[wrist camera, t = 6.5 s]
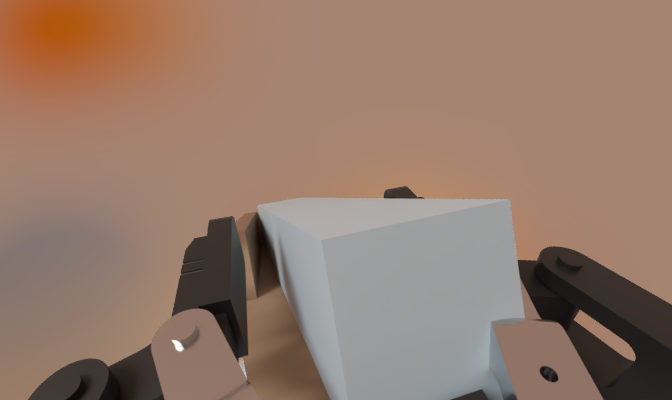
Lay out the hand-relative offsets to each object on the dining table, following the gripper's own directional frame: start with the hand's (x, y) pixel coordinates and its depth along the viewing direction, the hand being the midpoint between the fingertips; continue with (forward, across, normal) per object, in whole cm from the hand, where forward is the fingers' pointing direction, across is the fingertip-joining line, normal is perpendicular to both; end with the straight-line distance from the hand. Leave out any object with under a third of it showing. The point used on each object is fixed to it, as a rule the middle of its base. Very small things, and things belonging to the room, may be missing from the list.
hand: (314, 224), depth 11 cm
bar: (+2, 0, +5) cm, 5 cm away
